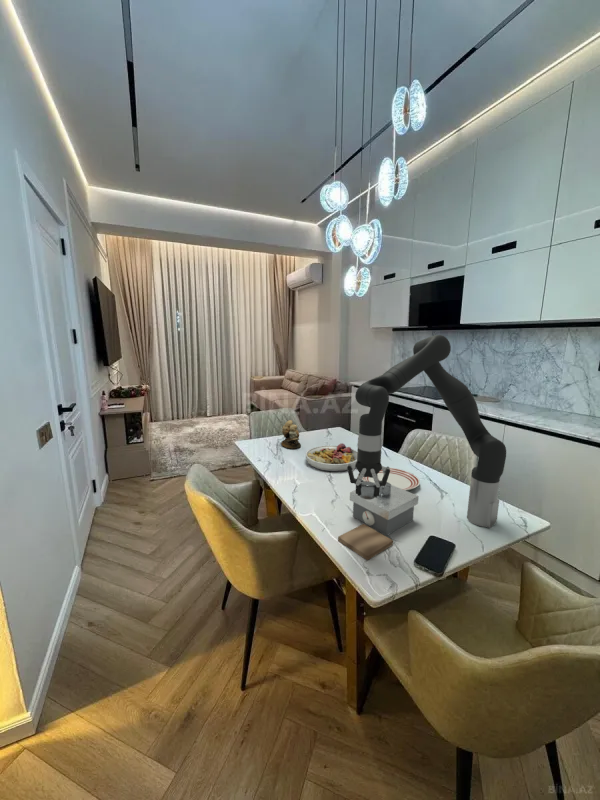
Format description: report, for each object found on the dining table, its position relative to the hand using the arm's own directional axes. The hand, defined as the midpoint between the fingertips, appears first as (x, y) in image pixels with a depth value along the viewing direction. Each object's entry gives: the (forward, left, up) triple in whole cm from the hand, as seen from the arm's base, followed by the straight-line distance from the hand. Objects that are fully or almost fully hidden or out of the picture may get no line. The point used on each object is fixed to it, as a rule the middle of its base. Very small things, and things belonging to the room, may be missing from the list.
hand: (367, 495), depth 109 cm
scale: (+6, -17, -17) cm, 25 cm away
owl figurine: (+97, -41, -18) cm, 107 cm away
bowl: (+60, -42, -18) cm, 75 cm away
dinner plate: (+24, -45, -18) cm, 54 cm away
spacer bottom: (+6, -17, -7) cm, 19 cm away
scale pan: (+6, -17, -10) cm, 21 cm away
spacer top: (0, 0, 0) cm, 0 cm away
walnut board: (0, 0, -17) cm, 17 cm away
